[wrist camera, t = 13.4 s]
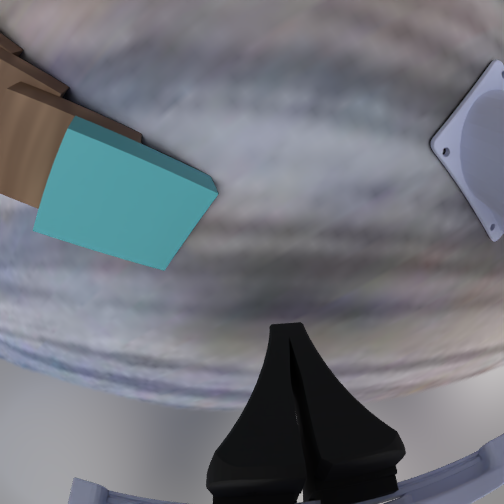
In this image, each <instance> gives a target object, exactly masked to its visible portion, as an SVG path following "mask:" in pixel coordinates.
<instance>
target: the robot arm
mask: <svg viewBox="0 0 504 504" xmlns="http://www.w3.org/2000/svg"><path fill="white" fill-rule="evenodd" d="M431 148H432V150H433V152H434V153H435V154H436V156H437V157H438V158H439V160H440V161H441V162H442V164H443V165H444V166H445V168H446V169H447V170H448V172H449V173H450V175H451V176H452V178H453V179H454V180H455V182H456V183H457V185H458V186H459V188H460V189H461V191H462V192H463V194H464V195H465V197H466V199H467V200H468V202H469V203H470V205H471V206H472V208H473V210H474V211H475V213H476V215H477V216H478V218H479V220H480V222H481V223H482V225H483V227H484V229H485V230H486V232H487V234H488V236H489V238H490V239H491V240H492V241H494V242H495V241H497V240H498V239H499V238H500V237H501V236H502V235H503V233H504V65H503V63H502V62H501V61H499V60H493V61H492V62H491V63H490V65H489V66H488V68H487V69H486V70H485V72H484V73H483V74H482V76H481V77H480V78H479V80H478V81H477V82H476V84H475V85H474V86H473V88H472V89H471V90H470V92H469V93H468V94H467V96H466V97H465V98H464V99H463V101H462V102H461V103H460V105H459V106H458V107H457V108H456V110H455V111H454V112H453V113H452V115H451V116H450V117H449V119H448V120H447V121H446V122H445V123H444V125H443V126H442V127H441V128H440V130H439V131H438V132H437V133H436V134H435V136H434V137H433V138H432V140H431ZM444 148H446V152H445V154H444V155H443V149H444ZM295 411H296V412H295ZM296 416H297V418H296ZM405 454H406V452H405V447H404V444H403V442H402V440H401V438H400V436H399V434H398V432H397V431H395V430H394V429H392V428H391V427H389V426H388V425H387V424H385V423H384V422H382V421H381V420H380V419H378V418H377V417H376V416H375V415H373V414H372V413H371V412H369V410H367V409H366V408H365V407H364V406H363V405H362V404H361V403H360V402H359V401H357V400H356V399H355V398H354V397H353V396H352V395H351V394H350V393H349V392H348V391H347V389H346V388H345V387H344V386H343V385H342V384H341V383H340V382H339V380H338V379H337V378H336V377H335V375H334V374H333V373H332V372H331V370H330V369H329V368H328V366H327V365H326V363H325V362H324V361H323V359H322V358H321V356H320V354H319V353H318V351H317V350H316V348H315V347H314V345H313V343H312V341H311V340H310V338H309V336H308V334H307V332H306V330H305V328H304V325H303V324H302V323H301V322H298V323H285V324H272V325H271V326H270V335H269V343H268V348H267V352H266V356H265V360H264V363H263V367H262V369H261V372H260V375H259V378H258V381H257V383H256V386H255V388H254V390H253V392H252V395H251V397H250V399H249V401H248V403H247V405H246V406H245V408H244V410H243V412H242V414H241V416H240V417H239V419H238V420H237V422H236V424H235V425H234V427H233V428H232V430H231V431H230V433H229V434H228V435H227V437H226V438H225V439H224V441H223V442H222V443H221V445H220V446H219V447H218V449H217V450H216V451H215V453H214V455H213V458H212V460H211V462H210V465H209V468H208V472H207V480H206V487H207V489H208V490H209V491H210V492H211V493H212V495H213V504H379V503H383V502H386V501H389V500H392V501H389V502H387V503H384V504H471V503H473V502H475V501H477V500H479V499H480V498H482V497H484V496H485V495H487V494H489V493H491V492H492V491H494V490H495V489H497V488H499V487H500V486H502V485H503V484H504V434H502V435H500V436H498V437H497V438H495V439H493V440H491V441H489V442H488V443H486V444H485V445H483V446H482V447H481V448H480V449H479V450H478V451H476V452H474V453H472V454H470V455H468V456H466V457H464V458H462V459H460V460H457V461H455V462H453V463H450V464H448V465H446V466H443V467H441V468H438V469H436V470H433V471H431V472H428V473H425V474H422V475H419V476H417V477H414V478H411V479H408V480H404V481H401V482H398V483H397V480H396V476H395V474H397V469H396V464H397V463H398V462H399V461H400V460H401V459H402V458H403V457H404V455H405ZM302 489H303V502H301V503H297V499H298V496H299V493H301V491H302ZM399 497H400V498H399ZM396 498H397V499H396ZM393 499H395V500H393ZM68 504H187V503H177V502H169V501H161V500H155V499H149V498H143V497H137V496H132V495H127V494H123V493H118V492H114V491H109V490H107V489H106V488H105V487H103V486H101V485H99V484H96V483H93V482H89V481H85V480H82V479H79V478H74V479H73V483H72V488H71V492H70V497H69V501H68Z"/></svg>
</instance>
